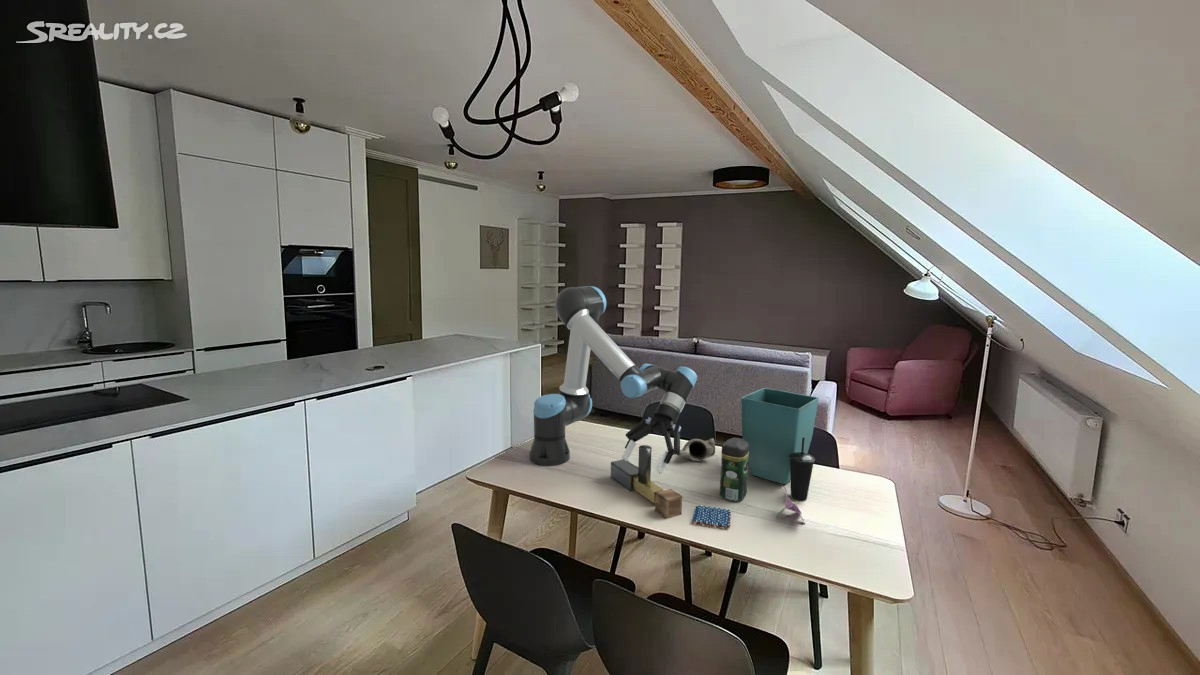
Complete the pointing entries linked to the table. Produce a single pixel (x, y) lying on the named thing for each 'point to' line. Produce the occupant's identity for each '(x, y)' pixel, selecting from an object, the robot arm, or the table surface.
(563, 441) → the robot arm
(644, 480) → the slide bolt with knob
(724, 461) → the coffee jar
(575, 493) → the table surface
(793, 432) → the teal waste bin
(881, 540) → the table surface
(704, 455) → the pipe
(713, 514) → the woven mat
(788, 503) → the lily
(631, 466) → the sleeve
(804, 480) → the drinking cup
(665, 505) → the socket
